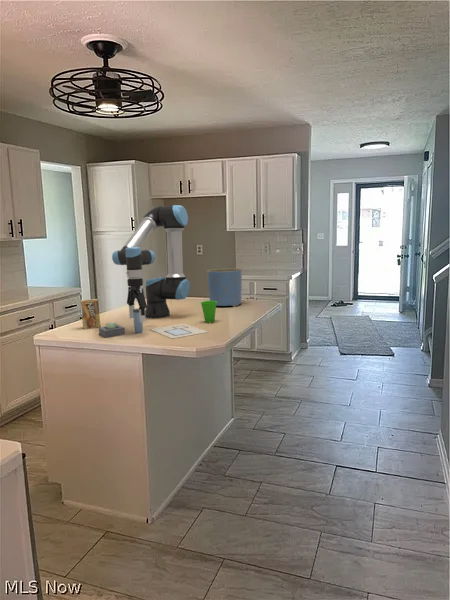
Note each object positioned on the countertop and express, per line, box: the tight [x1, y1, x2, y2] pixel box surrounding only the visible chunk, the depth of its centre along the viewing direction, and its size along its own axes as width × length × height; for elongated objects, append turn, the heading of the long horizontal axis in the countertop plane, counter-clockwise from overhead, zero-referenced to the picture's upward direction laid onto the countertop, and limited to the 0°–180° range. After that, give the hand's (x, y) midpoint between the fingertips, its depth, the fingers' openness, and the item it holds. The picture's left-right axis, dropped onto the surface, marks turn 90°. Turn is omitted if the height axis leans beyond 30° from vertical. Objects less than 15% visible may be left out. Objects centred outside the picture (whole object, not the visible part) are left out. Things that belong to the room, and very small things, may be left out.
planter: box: [206, 267, 243, 308], centre depth 303 cm, size 23×23×24 cm
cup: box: [200, 300, 217, 324], centre depth 252 cm, size 9×9×11 cm
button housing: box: [98, 324, 126, 338], centre depth 231 cm, size 10×10×4 cm
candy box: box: [80, 298, 101, 330], centre depth 249 cm, size 9×4×15 cm, turn 116°
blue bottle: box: [133, 308, 144, 334], centre depth 232 cm, size 4×4×12 cm
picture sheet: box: [149, 323, 209, 340], centre depth 233 cm, size 26×20×1 cm
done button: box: [105, 322, 117, 329], centre depth 231 cm, size 5×5×4 cm
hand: (137, 320), depth 232 cm, fingers open, 13 cm apart
